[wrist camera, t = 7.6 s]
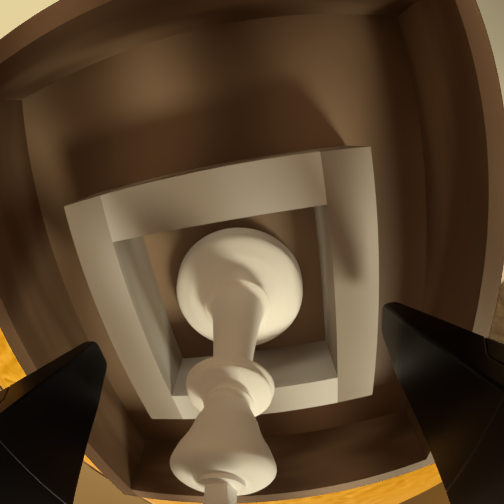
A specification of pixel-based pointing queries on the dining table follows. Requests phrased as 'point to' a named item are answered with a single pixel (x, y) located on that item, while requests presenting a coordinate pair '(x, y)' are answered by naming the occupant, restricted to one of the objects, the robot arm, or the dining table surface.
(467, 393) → the robot arm
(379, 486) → the dining table surface
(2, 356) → the dining table surface
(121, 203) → the walnut box
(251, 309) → the chess piece
